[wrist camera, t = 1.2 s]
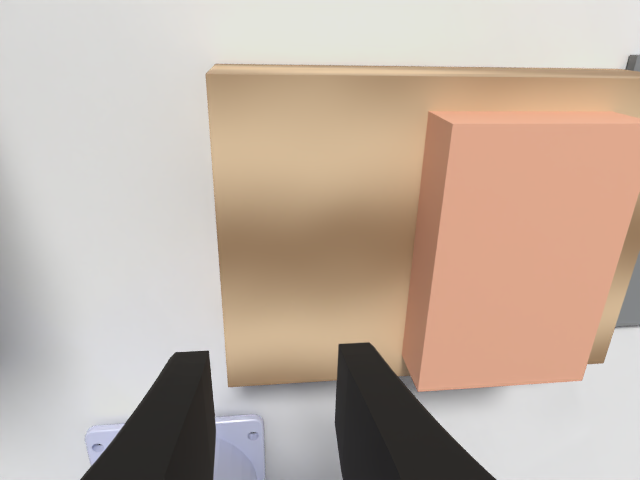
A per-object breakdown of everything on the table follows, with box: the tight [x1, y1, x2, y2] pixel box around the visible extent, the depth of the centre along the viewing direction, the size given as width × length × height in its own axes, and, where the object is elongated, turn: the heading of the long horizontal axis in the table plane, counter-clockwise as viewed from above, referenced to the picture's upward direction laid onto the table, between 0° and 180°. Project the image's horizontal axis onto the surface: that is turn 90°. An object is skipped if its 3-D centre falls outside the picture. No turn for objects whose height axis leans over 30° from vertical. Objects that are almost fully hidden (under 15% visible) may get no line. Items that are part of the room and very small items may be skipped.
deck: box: [206, 64, 640, 387], centre depth 18 cm, size 11×15×4 cm
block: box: [402, 111, 640, 392], centre depth 16 cm, size 9×6×2 cm, turn 179°
